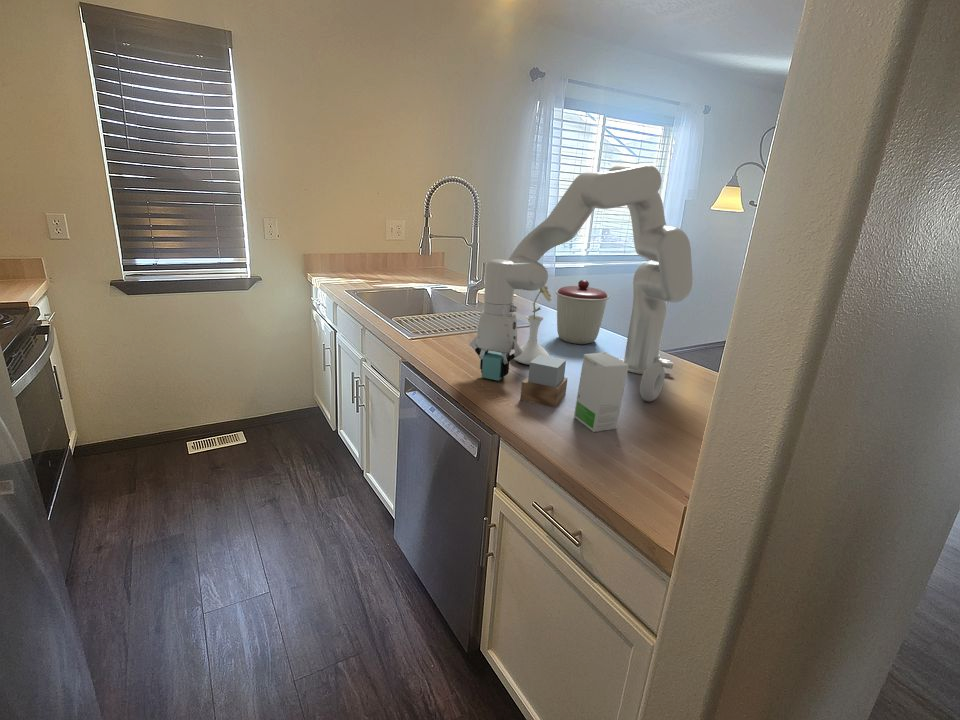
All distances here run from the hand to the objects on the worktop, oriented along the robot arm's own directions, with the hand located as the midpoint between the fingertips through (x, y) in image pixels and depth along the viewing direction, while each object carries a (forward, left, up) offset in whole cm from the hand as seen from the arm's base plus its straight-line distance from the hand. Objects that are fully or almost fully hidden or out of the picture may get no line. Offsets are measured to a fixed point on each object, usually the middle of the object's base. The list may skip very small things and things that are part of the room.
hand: (494, 373), depth 139 cm
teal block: (0, 0, -1) cm, 1 cm away
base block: (-16, +5, -2) cm, 17 cm away
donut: (-40, -8, -2) cm, 41 cm away
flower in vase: (-4, -20, -2) cm, 20 cm away
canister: (-10, -51, -2) cm, 52 cm away
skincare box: (-31, +13, -2) cm, 34 cm away
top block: (-16, +5, +3) cm, 17 cm away
